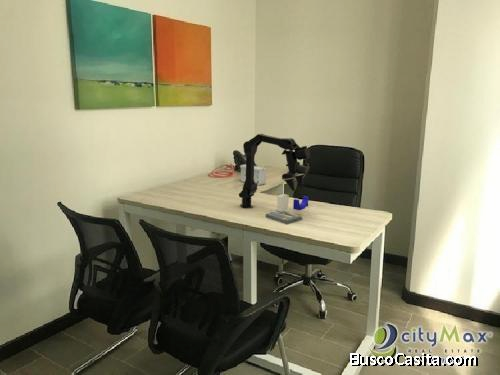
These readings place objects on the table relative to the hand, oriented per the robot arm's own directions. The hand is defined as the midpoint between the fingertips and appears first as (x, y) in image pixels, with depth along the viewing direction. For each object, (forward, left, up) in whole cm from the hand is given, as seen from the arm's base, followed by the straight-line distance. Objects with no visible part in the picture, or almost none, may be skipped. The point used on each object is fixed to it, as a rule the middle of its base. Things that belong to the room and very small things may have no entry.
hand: (297, 189), depth 221 cm
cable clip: (-16, +10, -16) cm, 25 cm away
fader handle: (+1, -9, -13) cm, 16 cm away
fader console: (+2, -8, -16) cm, 18 cm away
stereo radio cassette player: (-89, +1, -16) cm, 91 cm away
